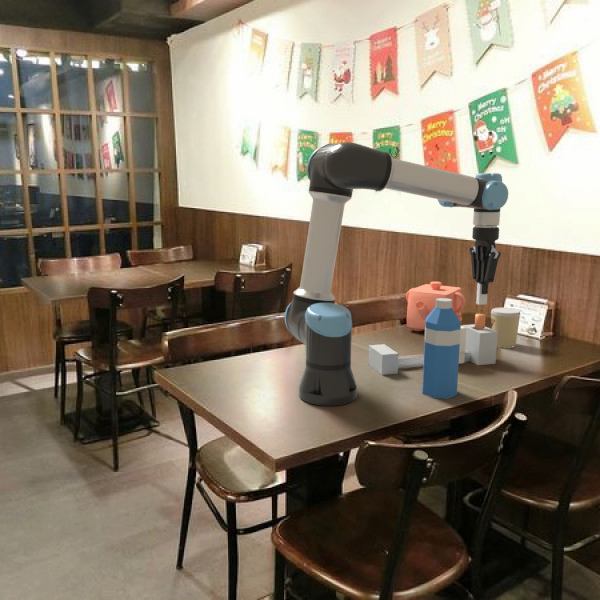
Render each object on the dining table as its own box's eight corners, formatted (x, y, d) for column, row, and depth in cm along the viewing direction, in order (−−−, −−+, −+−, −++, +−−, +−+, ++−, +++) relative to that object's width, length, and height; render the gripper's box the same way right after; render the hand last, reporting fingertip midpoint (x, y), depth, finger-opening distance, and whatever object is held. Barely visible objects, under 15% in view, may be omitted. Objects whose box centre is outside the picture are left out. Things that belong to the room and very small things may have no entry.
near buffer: (381, 374, 170) (382, 354, 169) (368, 364, 179) (368, 345, 178) (397, 373, 171) (398, 353, 170) (383, 363, 181) (384, 344, 179)
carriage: (440, 365, 177) (442, 329, 175) (430, 359, 183) (432, 325, 180) (464, 363, 179) (466, 327, 177) (453, 357, 185) (455, 323, 182)
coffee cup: (493, 339, 206) (496, 306, 204) (521, 344, 201) (524, 309, 198) (484, 345, 199) (487, 310, 196) (513, 350, 193) (515, 314, 191)
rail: (392, 369, 175) (392, 359, 174) (388, 366, 177) (389, 357, 176) (469, 361, 182) (470, 352, 181) (465, 359, 184) (466, 350, 183)
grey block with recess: (478, 365, 178) (480, 333, 176) (460, 355, 188) (462, 325, 186) (495, 363, 180) (497, 331, 178) (477, 354, 189) (479, 323, 187)
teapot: (448, 343, 201) (451, 292, 197) (387, 334, 213) (389, 285, 210) (471, 328, 222) (474, 281, 218) (414, 320, 234) (416, 275, 230)
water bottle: (451, 401, 150) (456, 305, 145) (416, 394, 155) (419, 300, 150) (462, 390, 158) (467, 298, 153) (428, 383, 163) (432, 294, 157)
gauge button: (478, 329, 180) (478, 316, 179) (472, 326, 183) (473, 314, 182) (486, 328, 181) (487, 315, 180) (481, 325, 183) (482, 313, 183)
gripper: (510, 227, 170) (504, 307, 175) (484, 224, 182) (480, 299, 187) (487, 228, 168) (482, 309, 173) (463, 224, 180) (459, 300, 185)
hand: (481, 303), depth 180 cm, fingers closed
